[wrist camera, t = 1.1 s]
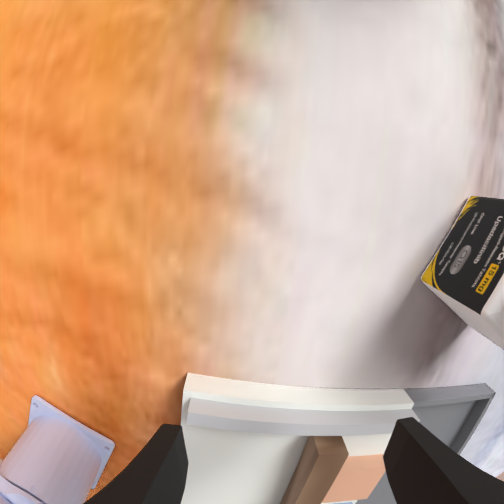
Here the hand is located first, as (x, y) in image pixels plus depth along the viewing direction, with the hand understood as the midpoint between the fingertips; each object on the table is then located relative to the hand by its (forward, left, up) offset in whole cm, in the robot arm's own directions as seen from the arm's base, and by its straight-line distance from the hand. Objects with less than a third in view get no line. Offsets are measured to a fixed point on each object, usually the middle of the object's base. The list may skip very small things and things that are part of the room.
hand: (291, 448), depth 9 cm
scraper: (-13, -10, -8) cm, 18 cm away
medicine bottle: (+11, -11, -11) cm, 19 cm away
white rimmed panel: (-13, -9, -11) cm, 19 cm away
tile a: (-8, -12, -9) cm, 17 cm away
